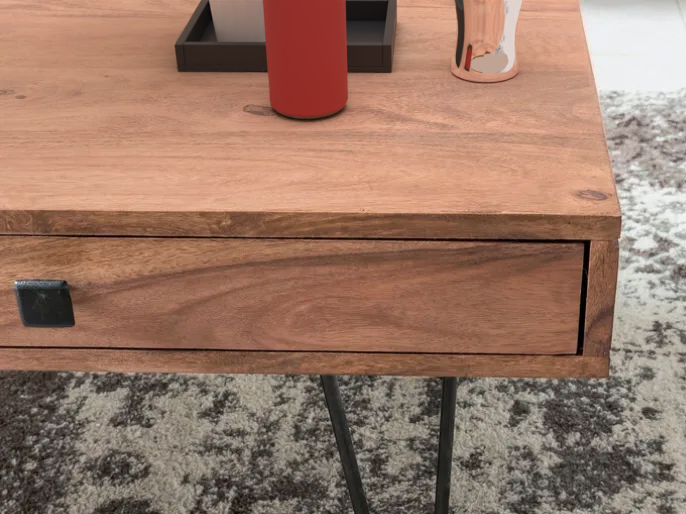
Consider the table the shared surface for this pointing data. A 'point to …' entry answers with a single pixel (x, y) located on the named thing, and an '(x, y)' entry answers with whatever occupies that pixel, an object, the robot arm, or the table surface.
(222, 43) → the tray
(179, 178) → the table surface
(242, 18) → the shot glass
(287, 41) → the beer can
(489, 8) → the beer glass
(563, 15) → the table surface
